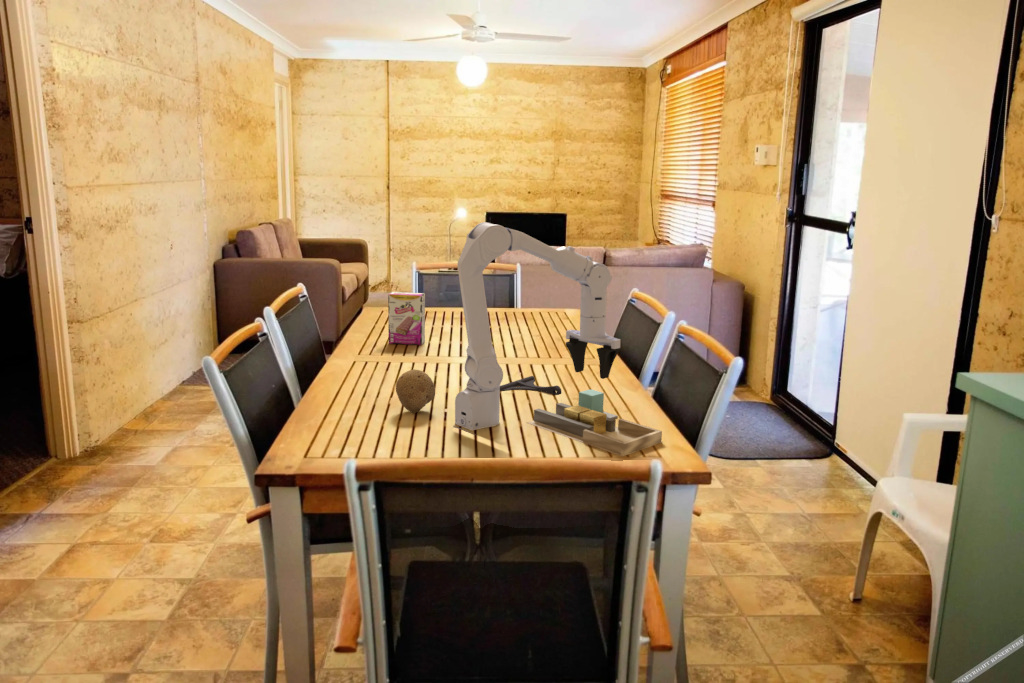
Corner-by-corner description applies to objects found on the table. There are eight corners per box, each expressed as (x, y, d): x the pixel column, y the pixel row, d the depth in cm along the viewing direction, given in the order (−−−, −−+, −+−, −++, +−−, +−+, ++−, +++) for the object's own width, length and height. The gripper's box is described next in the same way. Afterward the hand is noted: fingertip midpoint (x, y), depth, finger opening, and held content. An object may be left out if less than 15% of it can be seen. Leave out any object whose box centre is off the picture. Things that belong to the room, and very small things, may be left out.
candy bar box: (388, 344, 249) (387, 293, 246) (392, 341, 254) (391, 291, 251) (422, 345, 248) (421, 294, 245) (425, 342, 253) (425, 292, 250)
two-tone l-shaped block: (603, 426, 171) (604, 400, 170) (576, 417, 177) (577, 392, 176) (617, 422, 175) (618, 396, 173) (590, 413, 180) (591, 388, 179)
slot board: (622, 461, 151) (622, 444, 150) (526, 426, 170) (526, 411, 169) (662, 446, 159) (663, 430, 159) (567, 415, 179) (567, 400, 178)
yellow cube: (593, 436, 162) (594, 417, 161) (579, 431, 164) (579, 413, 164) (605, 432, 164) (606, 414, 163) (591, 427, 167) (592, 409, 166)
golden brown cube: (577, 430, 165) (578, 412, 164) (563, 426, 168) (564, 408, 167) (589, 427, 168) (590, 409, 167) (576, 422, 170) (576, 405, 170)
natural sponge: (416, 403, 186) (416, 363, 184) (443, 411, 180) (443, 369, 178) (388, 411, 179) (387, 370, 177) (415, 420, 173) (414, 377, 171)
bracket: (543, 403, 190) (543, 392, 190) (496, 392, 199) (496, 381, 198) (575, 391, 201) (576, 381, 201) (529, 381, 210) (530, 371, 210)
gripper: (630, 317, 170) (628, 377, 173) (581, 309, 180) (579, 365, 183) (609, 321, 165) (607, 383, 168) (560, 312, 176) (559, 370, 179)
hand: (591, 374), depth 175 cm, fingers open, 7 cm apart
